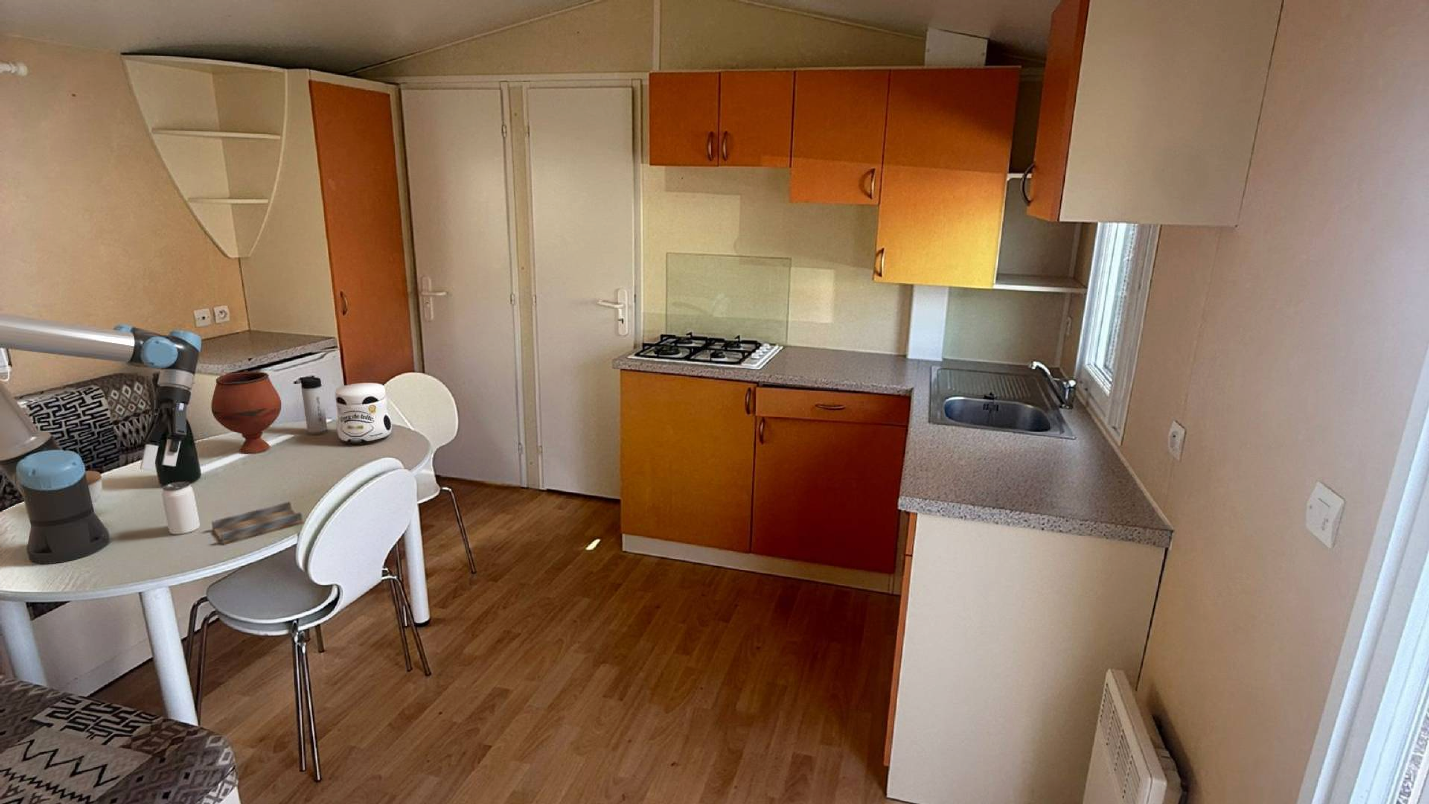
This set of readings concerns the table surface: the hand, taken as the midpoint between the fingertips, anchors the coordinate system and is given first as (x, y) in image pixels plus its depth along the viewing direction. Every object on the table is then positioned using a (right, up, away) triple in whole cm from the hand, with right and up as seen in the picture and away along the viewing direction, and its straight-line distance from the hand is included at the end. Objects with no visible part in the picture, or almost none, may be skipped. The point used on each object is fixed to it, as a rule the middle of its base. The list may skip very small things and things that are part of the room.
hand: (157, 467), depth 194 cm
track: (+26, -15, 0) cm, 30 cm away
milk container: (+24, +4, +65) cm, 69 cm away
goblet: (-7, +1, +53) cm, 54 cm away
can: (+9, -16, -3) cm, 18 cm away
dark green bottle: (-13, -6, +27) cm, 31 cm away
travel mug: (+4, +6, +71) cm, 71 cm away
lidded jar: (-28, -11, +10) cm, 32 cm away
